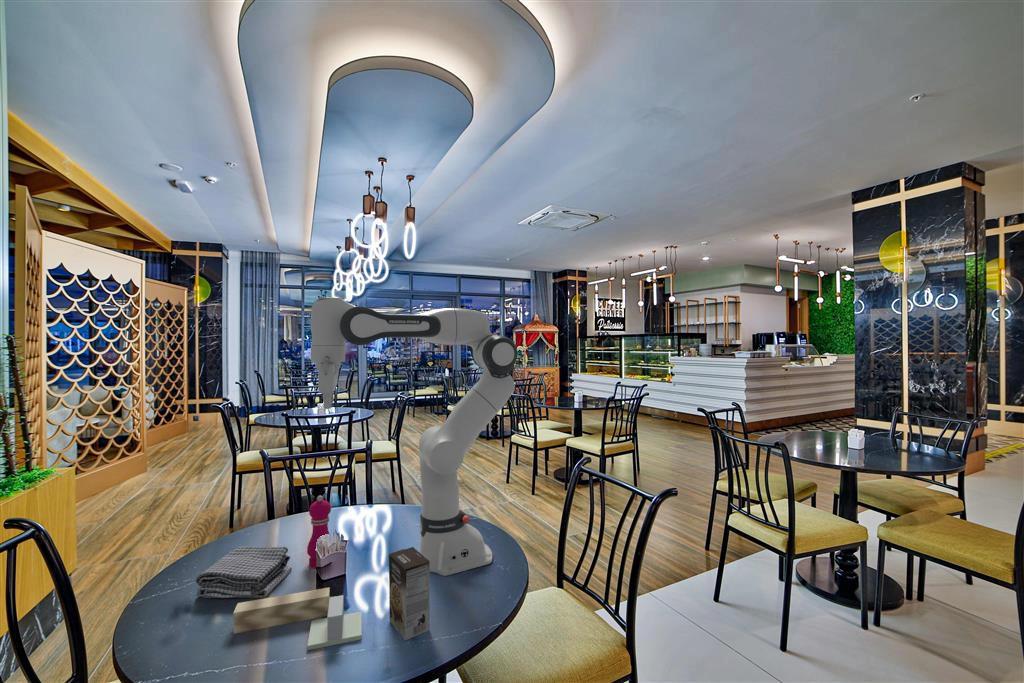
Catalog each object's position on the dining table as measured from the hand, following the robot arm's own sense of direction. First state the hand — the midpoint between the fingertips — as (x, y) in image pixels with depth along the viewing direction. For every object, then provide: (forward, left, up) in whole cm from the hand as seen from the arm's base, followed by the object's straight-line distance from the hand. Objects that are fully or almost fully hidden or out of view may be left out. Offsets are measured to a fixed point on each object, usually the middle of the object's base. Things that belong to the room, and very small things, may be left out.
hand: (328, 406), depth 125 cm
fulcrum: (-3, +25, -48) cm, 54 cm away
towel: (+21, -4, -48) cm, 53 cm away
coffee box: (-19, +28, -48) cm, 59 cm away
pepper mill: (+3, -10, -48) cm, 49 cm away
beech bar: (+9, +16, -48) cm, 52 cm away
